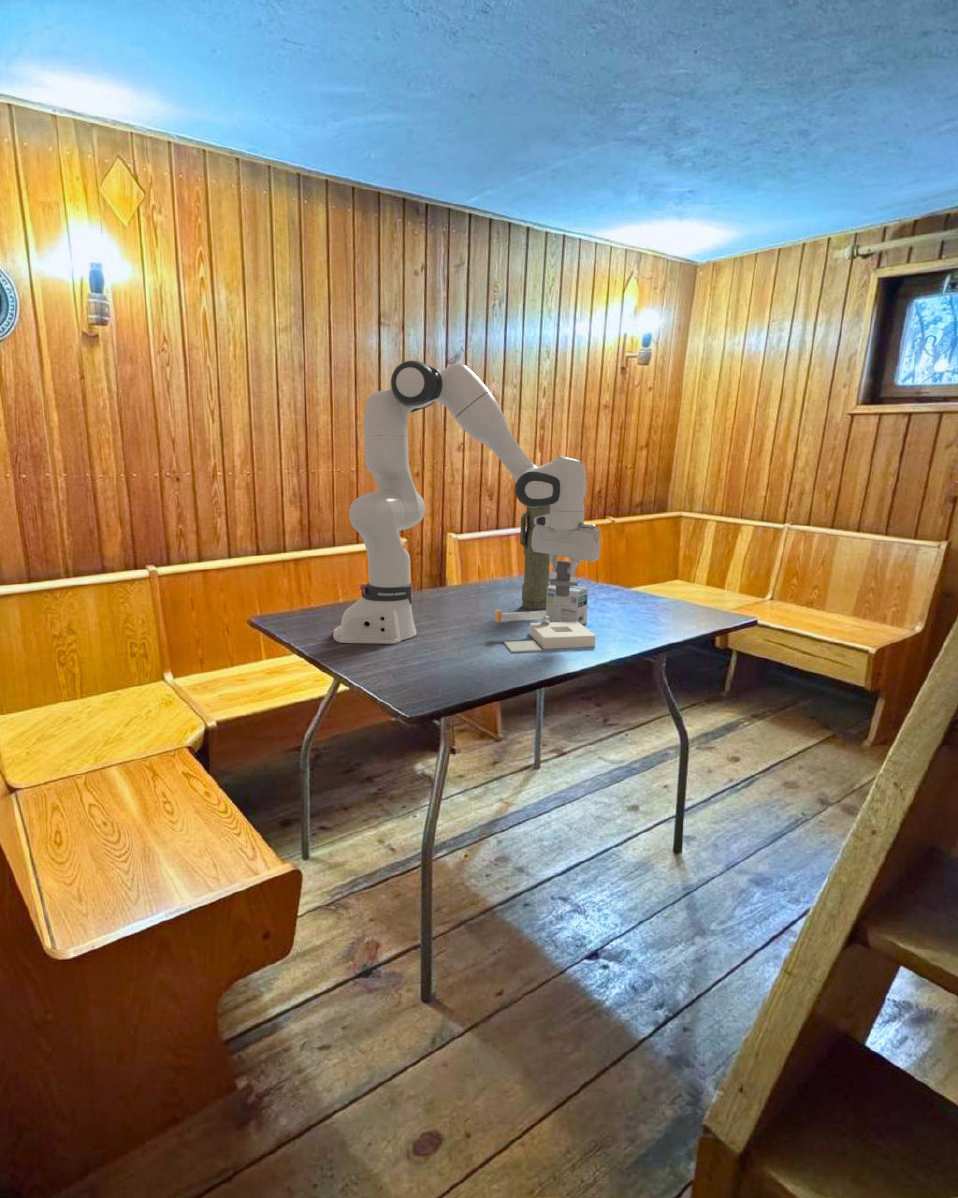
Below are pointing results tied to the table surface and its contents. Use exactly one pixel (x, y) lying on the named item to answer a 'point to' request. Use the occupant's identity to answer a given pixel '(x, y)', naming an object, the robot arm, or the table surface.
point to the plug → (562, 579)
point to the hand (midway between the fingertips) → (563, 573)
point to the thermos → (534, 563)
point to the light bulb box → (567, 605)
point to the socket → (562, 635)
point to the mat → (522, 646)
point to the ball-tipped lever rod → (522, 616)
